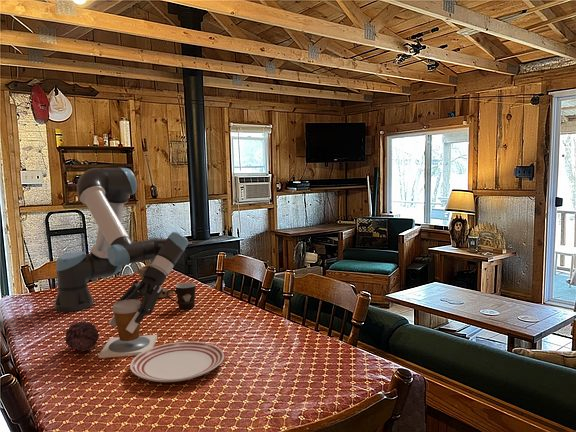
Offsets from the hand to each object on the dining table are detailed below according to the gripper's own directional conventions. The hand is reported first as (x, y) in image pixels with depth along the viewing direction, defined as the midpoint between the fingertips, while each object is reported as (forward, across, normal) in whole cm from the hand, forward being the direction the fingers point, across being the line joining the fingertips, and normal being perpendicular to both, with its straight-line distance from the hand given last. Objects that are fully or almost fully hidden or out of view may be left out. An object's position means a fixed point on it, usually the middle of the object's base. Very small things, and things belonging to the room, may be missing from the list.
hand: (120, 328), depth 141 cm
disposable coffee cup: (+1, 0, -6) cm, 6 cm away
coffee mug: (-23, +18, -34) cm, 45 cm away
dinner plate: (+4, -25, -8) cm, 27 cm away
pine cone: (+11, +10, 0) cm, 15 cm away
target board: (+3, 0, -8) cm, 8 cm away
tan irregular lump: (-26, +43, -37) cm, 63 cm away
